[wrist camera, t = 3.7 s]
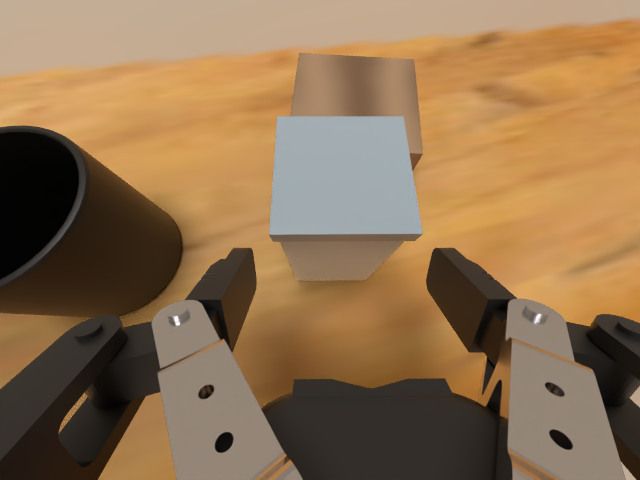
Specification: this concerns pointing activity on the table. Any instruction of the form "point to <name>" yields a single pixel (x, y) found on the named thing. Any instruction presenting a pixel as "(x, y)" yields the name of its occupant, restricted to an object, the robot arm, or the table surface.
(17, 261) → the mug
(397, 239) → the grey lidded pillar
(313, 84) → the walnut block
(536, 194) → the table surface
